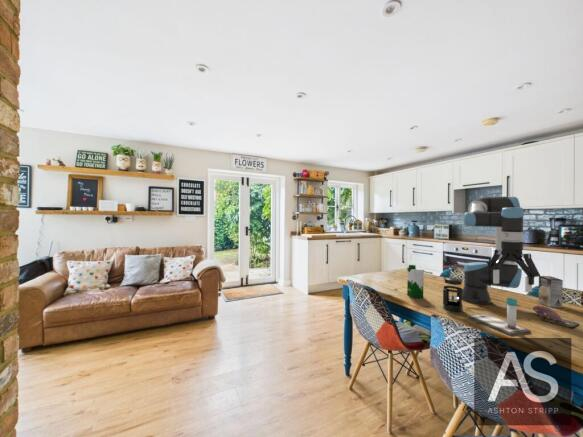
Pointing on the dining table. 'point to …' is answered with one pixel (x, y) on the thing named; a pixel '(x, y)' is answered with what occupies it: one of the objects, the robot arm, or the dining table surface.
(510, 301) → the marker
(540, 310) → the purple oval lump
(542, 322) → the dining table surface
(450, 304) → the black lantern
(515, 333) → the tablet
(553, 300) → the coffee box
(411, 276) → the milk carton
